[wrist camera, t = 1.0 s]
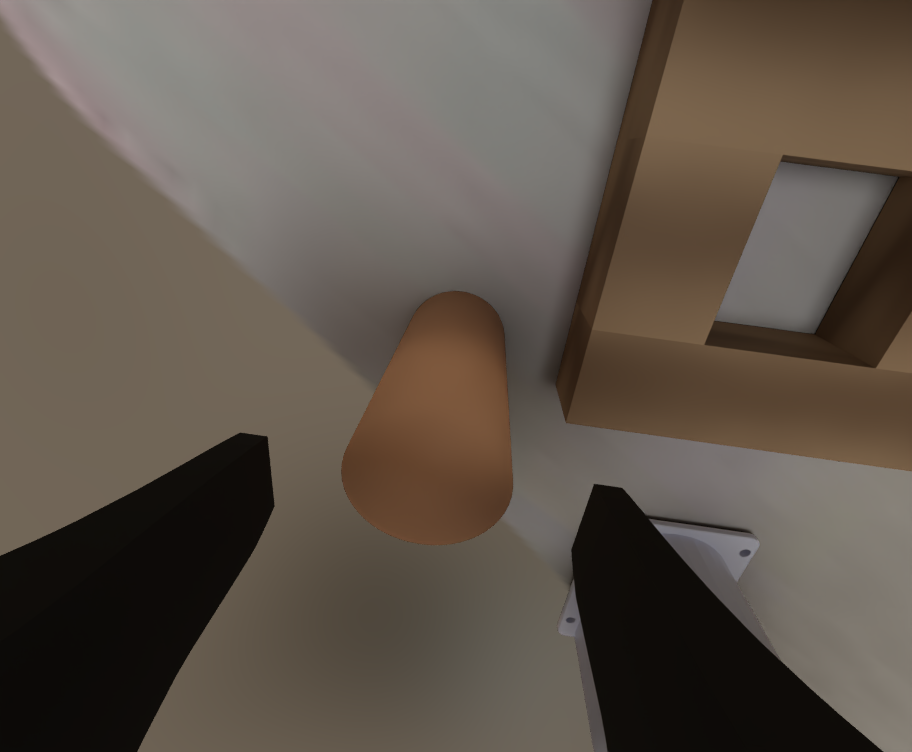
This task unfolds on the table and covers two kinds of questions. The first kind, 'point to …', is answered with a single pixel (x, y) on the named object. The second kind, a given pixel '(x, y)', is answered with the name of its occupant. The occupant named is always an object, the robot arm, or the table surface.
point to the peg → (437, 429)
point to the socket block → (728, 228)
